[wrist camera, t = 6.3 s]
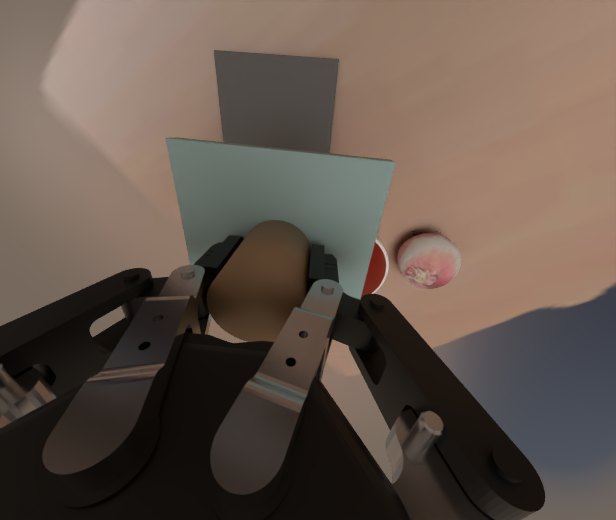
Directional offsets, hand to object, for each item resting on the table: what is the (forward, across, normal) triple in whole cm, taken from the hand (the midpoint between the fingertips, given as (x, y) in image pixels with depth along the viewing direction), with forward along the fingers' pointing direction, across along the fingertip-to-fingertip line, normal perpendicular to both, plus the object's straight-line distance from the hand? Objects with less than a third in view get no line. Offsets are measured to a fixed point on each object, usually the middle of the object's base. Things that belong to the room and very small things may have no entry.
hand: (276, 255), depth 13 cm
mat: (+20, +4, -6) cm, 21 cm away
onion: (+20, -18, +8) cm, 28 cm away
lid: (+1, 0, 0) cm, 1 cm away
